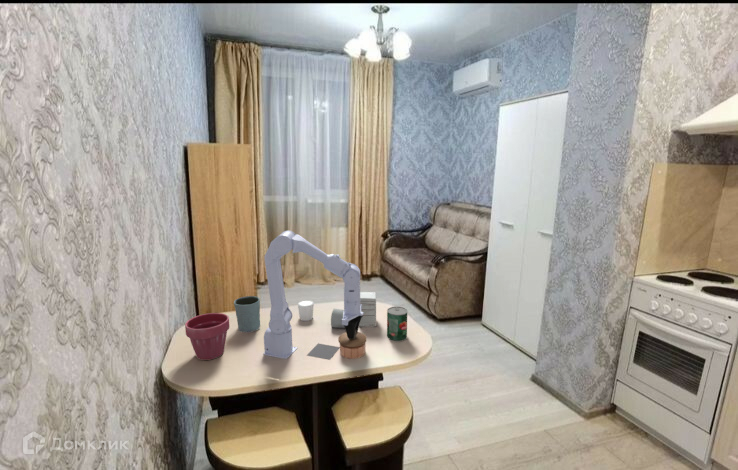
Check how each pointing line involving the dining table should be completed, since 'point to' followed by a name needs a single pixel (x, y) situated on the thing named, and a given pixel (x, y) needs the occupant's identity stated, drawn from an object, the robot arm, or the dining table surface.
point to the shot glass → (305, 310)
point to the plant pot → (208, 334)
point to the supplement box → (368, 309)
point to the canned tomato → (397, 324)
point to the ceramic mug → (337, 318)
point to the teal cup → (248, 313)
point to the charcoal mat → (323, 351)
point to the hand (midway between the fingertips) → (352, 335)
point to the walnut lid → (356, 341)
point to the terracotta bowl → (352, 351)
